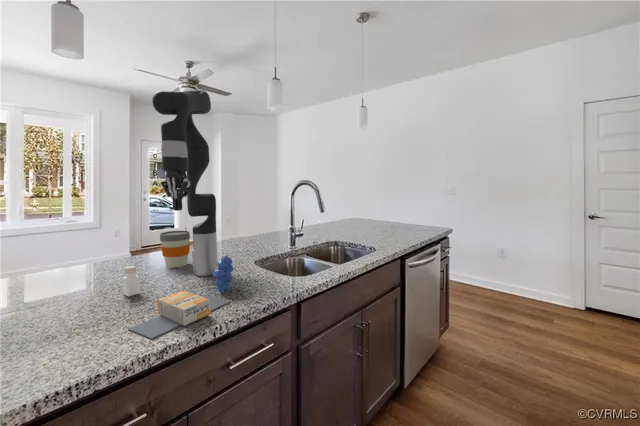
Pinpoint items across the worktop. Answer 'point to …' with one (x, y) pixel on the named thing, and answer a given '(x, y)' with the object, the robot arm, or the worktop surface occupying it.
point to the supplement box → (184, 307)
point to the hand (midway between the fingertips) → (177, 210)
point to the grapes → (223, 273)
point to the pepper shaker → (131, 281)
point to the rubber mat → (169, 321)
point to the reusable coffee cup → (175, 248)
